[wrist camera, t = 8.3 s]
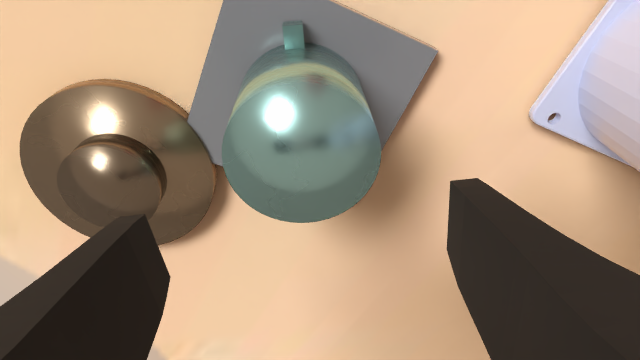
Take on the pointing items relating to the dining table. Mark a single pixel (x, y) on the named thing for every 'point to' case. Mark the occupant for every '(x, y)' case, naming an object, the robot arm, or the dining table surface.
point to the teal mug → (301, 133)
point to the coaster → (319, 28)
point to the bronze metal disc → (117, 159)
